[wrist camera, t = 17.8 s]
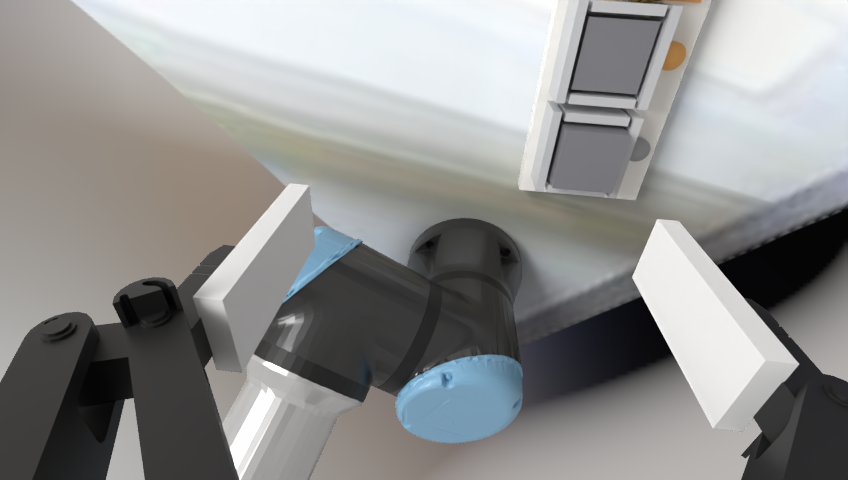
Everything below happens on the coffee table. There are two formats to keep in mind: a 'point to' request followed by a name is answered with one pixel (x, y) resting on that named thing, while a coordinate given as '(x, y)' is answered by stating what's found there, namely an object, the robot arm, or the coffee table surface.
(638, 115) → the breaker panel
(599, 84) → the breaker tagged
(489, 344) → the robot arm
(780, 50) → the coffee table surface
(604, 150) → the block
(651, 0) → the sculpture
